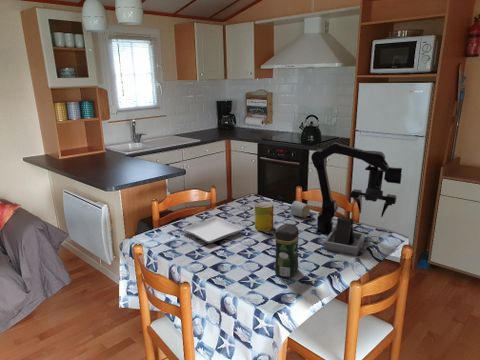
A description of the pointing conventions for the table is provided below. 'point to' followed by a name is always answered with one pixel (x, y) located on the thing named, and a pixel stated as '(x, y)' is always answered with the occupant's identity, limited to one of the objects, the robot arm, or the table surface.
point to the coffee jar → (286, 250)
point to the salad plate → (213, 229)
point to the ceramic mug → (300, 209)
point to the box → (342, 248)
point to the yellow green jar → (264, 216)
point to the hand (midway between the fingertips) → (370, 215)
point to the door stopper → (344, 231)
